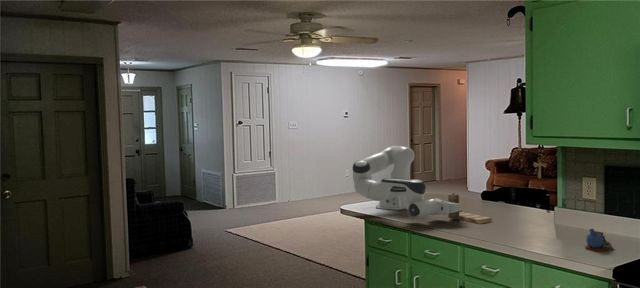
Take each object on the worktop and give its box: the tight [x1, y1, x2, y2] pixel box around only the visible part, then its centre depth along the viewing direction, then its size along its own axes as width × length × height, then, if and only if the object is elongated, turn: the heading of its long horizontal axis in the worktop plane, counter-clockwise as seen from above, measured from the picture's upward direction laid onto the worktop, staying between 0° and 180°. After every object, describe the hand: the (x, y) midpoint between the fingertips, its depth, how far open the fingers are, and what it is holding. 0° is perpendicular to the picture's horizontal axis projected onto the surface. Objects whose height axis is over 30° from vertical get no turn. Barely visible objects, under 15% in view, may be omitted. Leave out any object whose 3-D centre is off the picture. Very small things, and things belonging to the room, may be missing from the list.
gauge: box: [447, 192, 464, 220], centre depth 294 cm, size 8×4×14 cm, turn 120°
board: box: [447, 211, 493, 225], centre depth 293 cm, size 24×9×2 cm, turn 29°
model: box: [584, 228, 614, 253], centre depth 225 cm, size 12×9×9 cm
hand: (454, 203), depth 293 cm, fingers closed on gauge, 4 cm apart
